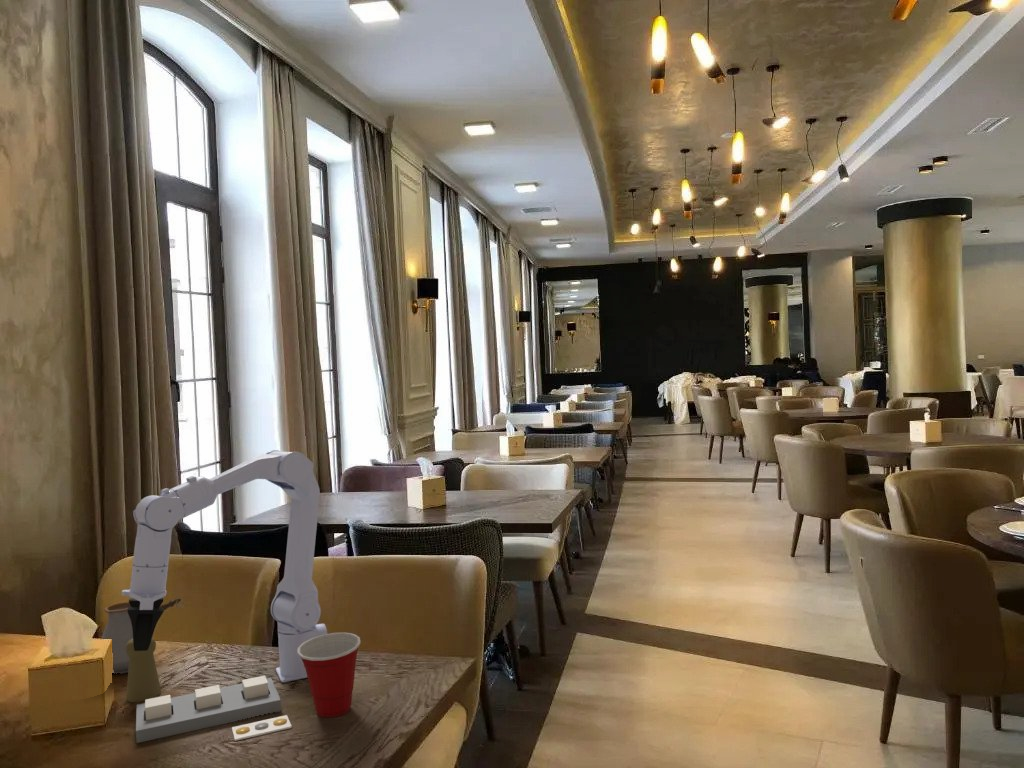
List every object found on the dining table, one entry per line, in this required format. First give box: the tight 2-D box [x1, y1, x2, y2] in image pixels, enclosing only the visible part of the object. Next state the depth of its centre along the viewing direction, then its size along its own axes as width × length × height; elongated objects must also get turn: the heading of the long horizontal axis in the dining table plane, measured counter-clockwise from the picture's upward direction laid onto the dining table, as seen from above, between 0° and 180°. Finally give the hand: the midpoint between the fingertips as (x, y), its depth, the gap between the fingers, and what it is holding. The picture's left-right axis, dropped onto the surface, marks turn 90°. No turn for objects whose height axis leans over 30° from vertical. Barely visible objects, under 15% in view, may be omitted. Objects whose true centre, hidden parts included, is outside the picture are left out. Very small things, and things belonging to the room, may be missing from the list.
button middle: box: [194, 684, 221, 709], centre depth 140 cm, size 4×4×2 cm
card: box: [231, 714, 293, 742], centre depth 132 cm, size 9×5×1 cm, turn 115°
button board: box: [135, 677, 282, 744], centre depth 140 cm, size 23×12×2 cm, turn 115°
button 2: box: [241, 675, 269, 699], centre depth 143 cm, size 4×4×2 cm
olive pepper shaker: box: [125, 636, 162, 703], centre depth 150 cm, size 6×6×11 cm
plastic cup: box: [297, 632, 361, 718], centre depth 138 cm, size 11×11×12 cm
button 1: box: [144, 694, 172, 720], centre depth 136 cm, size 4×4×2 cm
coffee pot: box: [100, 598, 186, 675], centre depth 164 cm, size 21×12×15 cm, turn 71°
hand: (141, 645), depth 137 cm, fingers open, 7 cm apart
